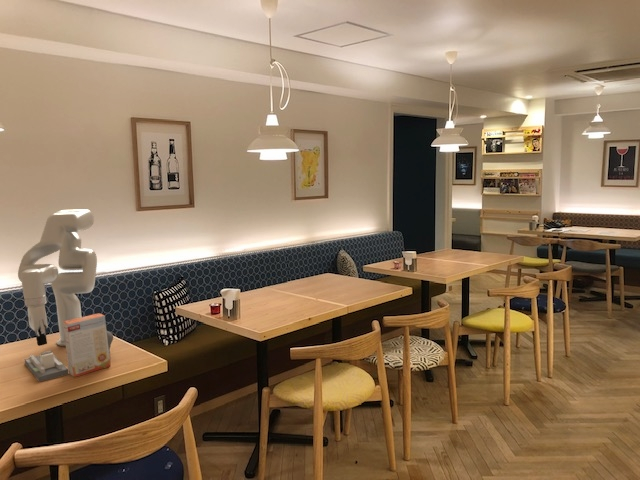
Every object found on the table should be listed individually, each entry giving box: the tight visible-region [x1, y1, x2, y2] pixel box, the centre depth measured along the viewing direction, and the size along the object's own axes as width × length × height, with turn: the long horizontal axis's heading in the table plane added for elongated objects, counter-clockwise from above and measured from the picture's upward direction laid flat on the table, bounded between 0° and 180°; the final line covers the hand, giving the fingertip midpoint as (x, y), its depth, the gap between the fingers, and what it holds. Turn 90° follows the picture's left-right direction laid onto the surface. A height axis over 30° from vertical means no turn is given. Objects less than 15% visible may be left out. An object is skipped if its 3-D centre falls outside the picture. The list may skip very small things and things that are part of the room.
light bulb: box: [107, 330, 114, 354], centre depth 219 cm, size 6×6×10 cm
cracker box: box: [63, 313, 111, 378], centre depth 202 cm, size 14×6×21 cm, turn 133°
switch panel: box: [24, 350, 69, 383], centre depth 206 cm, size 10×24×4 cm, turn 40°
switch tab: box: [39, 350, 55, 369], centre depth 202 cm, size 4×4×6 cm
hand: (42, 344), depth 210 cm, fingers closed
